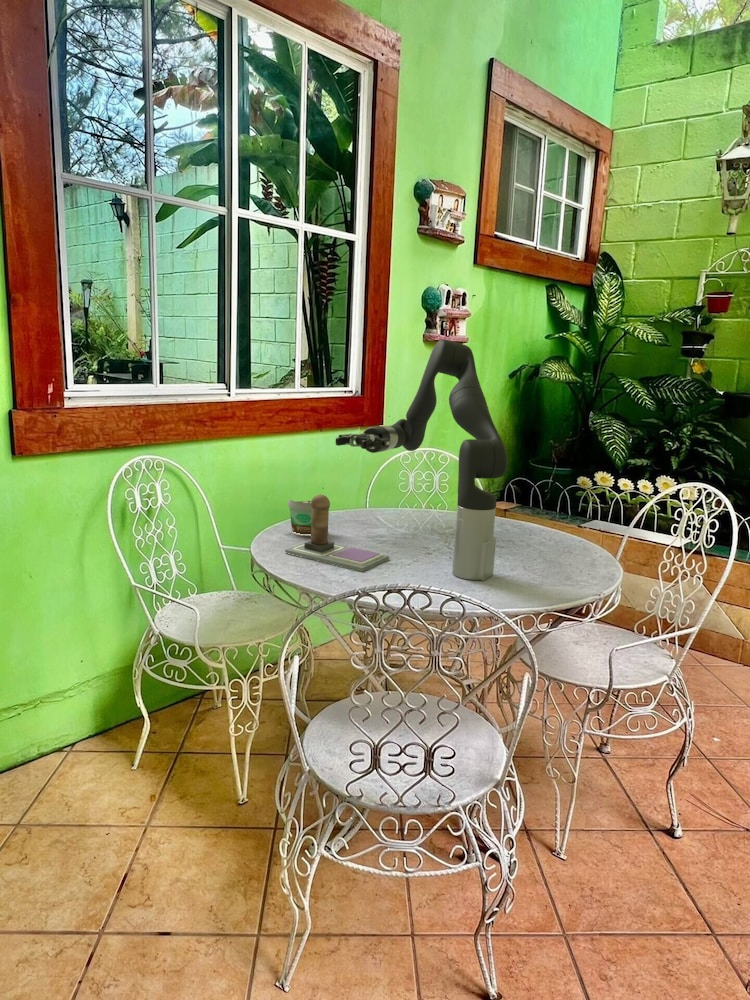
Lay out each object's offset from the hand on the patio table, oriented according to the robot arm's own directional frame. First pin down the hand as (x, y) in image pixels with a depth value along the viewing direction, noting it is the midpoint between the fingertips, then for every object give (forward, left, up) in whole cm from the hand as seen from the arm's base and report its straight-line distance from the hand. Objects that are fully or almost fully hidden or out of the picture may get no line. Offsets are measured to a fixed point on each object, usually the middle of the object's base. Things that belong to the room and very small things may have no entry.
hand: (349, 443), depth 176 cm
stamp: (0, +13, -27) cm, 30 cm away
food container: (+13, +1, -28) cm, 31 cm away
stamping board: (-6, +13, -28) cm, 31 cm away
